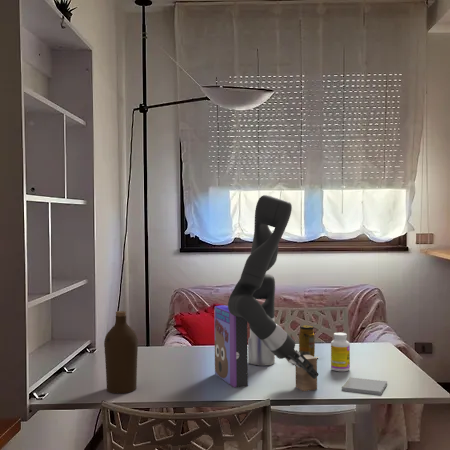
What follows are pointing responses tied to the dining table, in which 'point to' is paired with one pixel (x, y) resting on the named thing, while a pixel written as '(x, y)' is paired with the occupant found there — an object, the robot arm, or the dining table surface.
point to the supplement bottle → (340, 353)
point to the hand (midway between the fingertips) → (310, 373)
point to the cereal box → (230, 347)
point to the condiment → (307, 340)
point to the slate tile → (364, 386)
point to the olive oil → (121, 356)
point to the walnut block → (306, 376)
